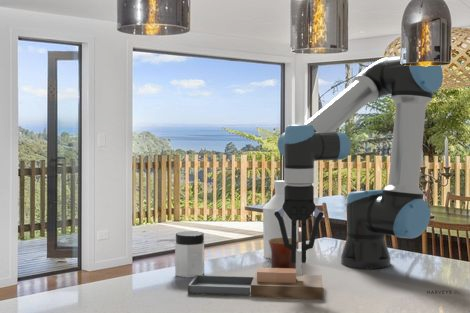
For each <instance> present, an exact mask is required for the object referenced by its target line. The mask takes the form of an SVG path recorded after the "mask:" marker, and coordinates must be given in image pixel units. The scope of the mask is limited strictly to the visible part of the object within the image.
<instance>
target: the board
mask: <svg viewBox="0 0 470 313" xmlns="http://www.w3.org/2000/svg"><path fill="white" fill-rule="evenodd" d="M253 277H254V278H253V281H252V283H251V294H250V297H251V298H275V299H277V298H278V299H301V300H302V299H306V300H310V299H311V300H323V296H324V295H323V292H324V291H323V289H324V288H323V275H319V274H318V275H317V274H316V275H315V274H313V275H312V274H302V276H296V283H284V282H257V272H256V273H254V275H253Z"/></svg>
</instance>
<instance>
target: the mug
mask: <svg viewBox="0 0 470 313" xmlns="http://www.w3.org/2000/svg"><path fill="white" fill-rule="evenodd" d="M288 240H289V243H291V238H288ZM299 242H300V240H299V239H298V240H297V239H296V249H299V244H300V243H299ZM269 244H270V248H271V259H270V268H294V269H296V263H292V261H291V250H290V249H289V248H285V246H284V242H283V238H273V239H270V240H269Z"/></svg>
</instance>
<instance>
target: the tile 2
mask: <svg viewBox="0 0 470 313" xmlns="http://www.w3.org/2000/svg"><path fill="white" fill-rule="evenodd" d="M276 282H284V283H296V269H294V268H277V272H276Z"/></svg>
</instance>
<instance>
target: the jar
mask: <svg viewBox="0 0 470 313" xmlns="http://www.w3.org/2000/svg"><path fill="white" fill-rule="evenodd" d="M204 235H205V234H204V232H202V231H194V230H186V231H185V230H184V231H179V232H177V233H176V234H175V244H174V248H175V249H174V253H175V254H174V256H175V257H174V263H175V274H174V275H175V276H178V277H181V278H188V279H190V278H194V277H195V276H196V275H203V274H204V273H205V236H204Z"/></svg>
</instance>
